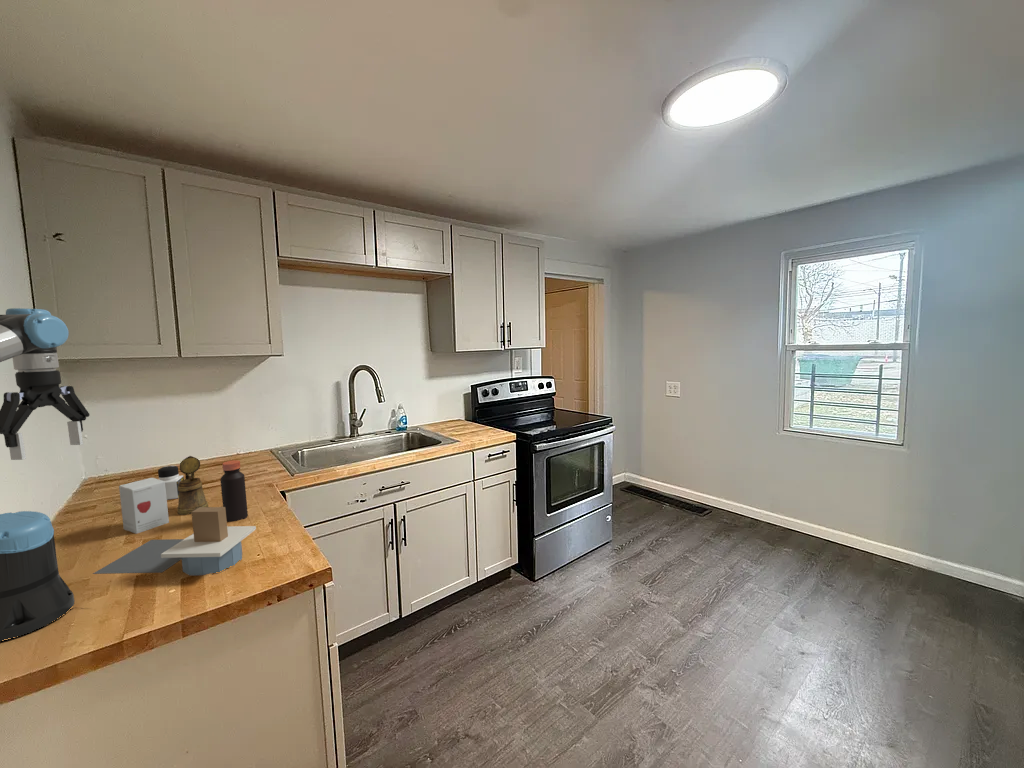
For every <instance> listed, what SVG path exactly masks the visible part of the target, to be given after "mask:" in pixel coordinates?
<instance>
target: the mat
mask: <svg viewBox="0 0 1024 768" xmlns="http://www.w3.org/2000/svg"><path fill="white" fill-rule="evenodd" d="M184 539H185V538H180V539H178V538H175V539H172V538H171V539H170V538H169V539H167V538H166V539H150V540H149V541H147V542H145V543H142V545H139V546H138V547H136V548H135V549H133V550H131V551H129V552H127V553H126V554H124V555H122V556H121V557H119V558H116V560H114V561H112V562H111V563H108V564H107V565H105V566H103V567H101V568H100V569H99V570H96V571H95V572H93V573H92V574H94V575H97V574H98V575H99V574H102V575H103V574H107V575H108V574H110V575H111V574H154V573H155V574H156V573H158V574H161V573H164V572H166V570H168V569H169V568H171V567H172V566H174V565H175V564H176V563H178V562H179V561H182V559H181V557H178V558H161V554H162V553H163V552H165V551H167V550H168V549H170V548H171V547H173V546H174V545H176V544H178V543H179V542H181V541H182V540H184Z"/></svg>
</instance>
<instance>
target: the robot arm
mask: <svg viewBox="0 0 1024 768" xmlns="http://www.w3.org/2000/svg"><path fill="white" fill-rule="evenodd" d="M69 332H70V331H69V329H68V327H67V325H66V323H65V322H64V321H63V320H62V319H61V318H59V317H57V316H55V315H52V313H51V312H50V311H49V310H47V309H43V308H42V309H41V308H22V307H21V308H20V307H18V308H16V307H15V308H14V307H13V308H8V309H6V310H5V314H0V363H2V362H5V361H7V360H10V359H12V364H13V370H15V371H17V372H15V373H14V377H15V382H16V386H17V387H18V388H19V392H18V391H15V392H13V391H12V392H11V391H9V392H8V391H7V392H4V393H3V402H2V405H1V407H0V435H3V438H4V443H5V447H6V448H8V449H9V455H10V461H20V460H26V459H27V457H26V450H25V445H24V444H25V443H24V437H23V432H19V431H20V429H21V428H22V427H23V425H24V424H25V422H26V421H27V420H28V418H29V417H30V416H31V414H32V413H33V411H35V410H37V409H38V408H44V407H46V406H47V407H51V406H52V407H53V408H54V409H56V410H57V411H58V412H60V413H61V414H62V415H63V416H64V417H66V418H67V419H68V420H70V421H67V422H66V423H67V424H66V425H67V430H68V431H67V432H68V437H69V444H70V446H81V445H84V442H83V434H82V433H83V431H84V427H83V422H85V421H86V420H87V418H88V417H90V412H89V411H88V409H87V408H86V406H84V404H83V402H82V401H81V400H80V398H79V397H78V396H77V395H76V392H75V389H74V386H72V385H61V384H62V377H61V371H60V370H57V369H59V368H60V363H59V356H58V351H57V347H60V346H62V345H64V344H65V343H66V342H67V341H68V338H69V334H70V333H69ZM60 385H61V386H60ZM61 396H62V397H61ZM57 557H58V556H57V549H56V542H55V530H54V527H53V524H52V521H51V518H50V517H49V516H48V515H47V514H46V513H43V512H40V511H31V510H28V511H27V510H26V511H25V510H24V511H23V510H21V511H17V512H5V513H0V641H2V640H4V639H8V638H13V637H17V636H20V637H22V636H21V635H23V636H25V635H24V634H26V635H28V634H27V633H29V634H31V633H33V632H32V631H34V630H36V629H39V628H41V627H43V626H45V627H47V626H48V625H47V624H49V623H51V622H52V621H54V620H56V619H57V618H59V617H60V616H62V615H63V614H65V613H66V612H67V611H68V610H69V609H70V608H71V607H72V606H73V607H74V605H75V603H74V602H75V595H74V592H73V591H72V590H71V589H70V587H69V586H68V585H67V583H66V582H65V581H64V580H63V579H62V577H61V575H60V572H59V571H60V570H59V565H58V558H57ZM65 615H66V614H65ZM56 621H57V620H56ZM51 624H52V623H51ZM46 625H47V626H46ZM49 625H50V624H49ZM43 628H44V627H43ZM41 629H42V628H41ZM39 630H40V629H39ZM36 631H37V630H36ZM30 632H31V633H30ZM34 632H35V631H34ZM17 638H18V637H17Z"/></svg>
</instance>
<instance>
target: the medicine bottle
mask: <svg viewBox="0 0 1024 768" xmlns="http://www.w3.org/2000/svg"><path fill="white" fill-rule="evenodd" d="M157 475H158V480H162V481H165V488H166V498H167V501H169V500H175V499H179V491H178V486H179V482H180V481H181V480H185V478H184V475H180V474H179V467H178V466H177V465H166V466H163V467H160V468H159V469H158V470H157Z"/></svg>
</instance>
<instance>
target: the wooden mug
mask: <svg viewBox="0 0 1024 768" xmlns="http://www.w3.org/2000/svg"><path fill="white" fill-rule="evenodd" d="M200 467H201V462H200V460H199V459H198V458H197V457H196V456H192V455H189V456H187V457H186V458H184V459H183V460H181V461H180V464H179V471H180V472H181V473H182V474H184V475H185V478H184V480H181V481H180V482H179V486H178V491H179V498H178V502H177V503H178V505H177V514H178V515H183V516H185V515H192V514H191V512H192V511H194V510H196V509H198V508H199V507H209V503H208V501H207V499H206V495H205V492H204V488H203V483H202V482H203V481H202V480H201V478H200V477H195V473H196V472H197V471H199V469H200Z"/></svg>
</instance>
